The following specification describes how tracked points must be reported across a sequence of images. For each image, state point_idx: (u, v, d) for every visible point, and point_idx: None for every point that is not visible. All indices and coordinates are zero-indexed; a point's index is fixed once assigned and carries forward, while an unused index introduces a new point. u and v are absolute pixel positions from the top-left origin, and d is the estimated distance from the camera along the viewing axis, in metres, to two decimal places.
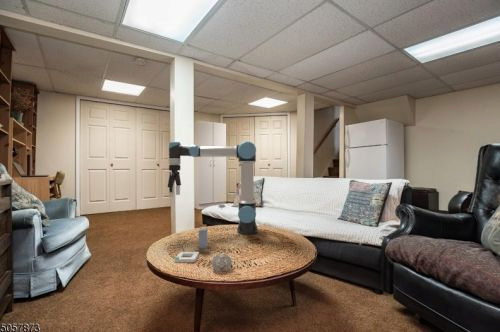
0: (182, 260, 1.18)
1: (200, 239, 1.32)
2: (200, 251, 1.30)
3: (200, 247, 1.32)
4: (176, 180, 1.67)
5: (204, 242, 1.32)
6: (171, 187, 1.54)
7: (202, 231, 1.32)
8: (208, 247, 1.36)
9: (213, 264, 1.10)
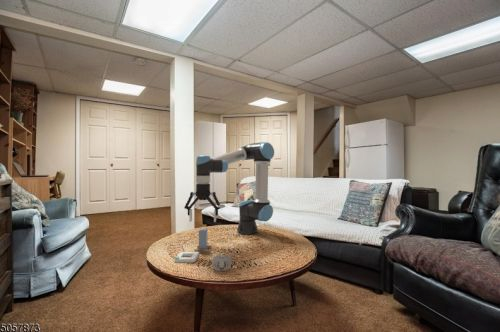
0: (182, 260, 1.18)
1: (200, 239, 1.32)
2: (200, 251, 1.30)
3: (200, 247, 1.32)
4: None
5: (204, 242, 1.32)
6: (187, 209, 1.33)
7: (202, 231, 1.32)
8: (208, 247, 1.36)
9: (213, 264, 1.10)
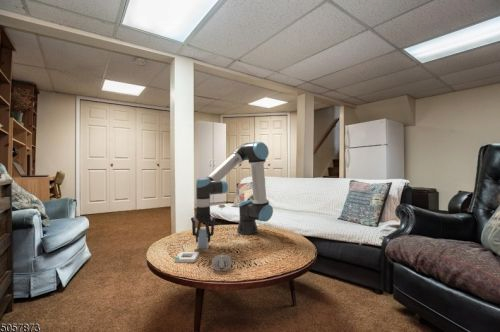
0: (182, 260, 1.18)
1: (200, 239, 1.32)
2: (200, 251, 1.30)
3: (200, 247, 1.32)
4: None
5: (204, 242, 1.32)
6: None
7: (202, 231, 1.32)
8: (208, 247, 1.36)
9: (213, 264, 1.10)
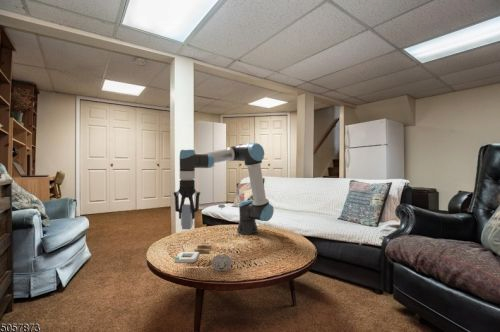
0: (182, 260, 1.18)
1: (184, 215, 1.21)
2: (200, 251, 1.30)
3: (183, 224, 1.21)
4: None
5: (188, 218, 1.21)
6: (179, 212, 1.22)
7: (186, 206, 1.21)
8: (208, 247, 1.36)
9: (213, 264, 1.10)
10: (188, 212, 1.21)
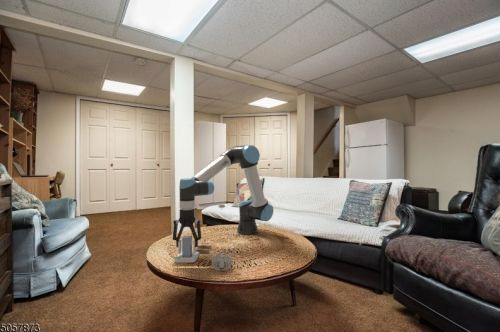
0: (182, 260, 1.18)
1: (184, 248, 1.21)
2: (200, 251, 1.30)
3: (184, 256, 1.21)
4: None
5: (188, 251, 1.21)
6: (176, 241, 1.22)
7: (186, 239, 1.21)
8: (208, 247, 1.36)
9: (213, 264, 1.10)
10: (188, 245, 1.21)
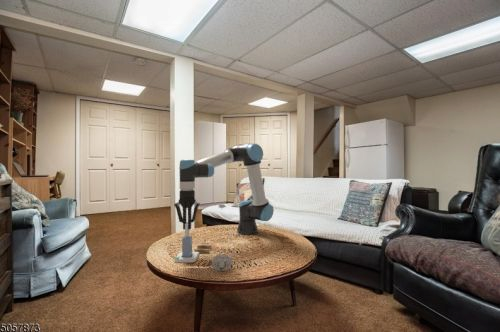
0: (182, 260, 1.18)
1: (184, 248, 1.21)
2: (200, 251, 1.30)
3: (184, 256, 1.21)
4: None
5: (188, 251, 1.21)
6: (183, 223, 1.22)
7: (186, 239, 1.21)
8: (208, 247, 1.36)
9: (213, 264, 1.10)
10: (188, 245, 1.21)
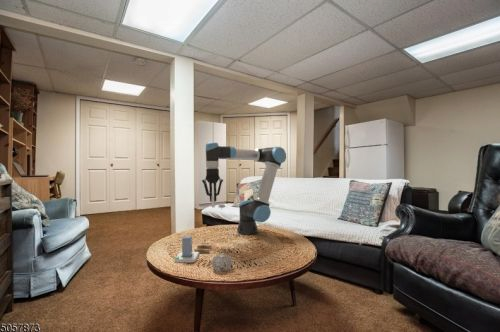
0: (182, 260, 1.18)
1: (184, 248, 1.21)
2: (200, 251, 1.30)
3: (184, 256, 1.21)
4: (214, 187, 1.46)
5: (188, 251, 1.21)
6: None
7: (186, 239, 1.21)
8: (208, 247, 1.36)
9: (213, 264, 1.10)
10: (188, 245, 1.21)
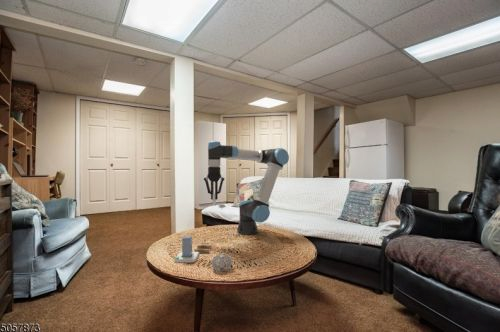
0: (182, 260, 1.18)
1: (184, 248, 1.21)
2: (200, 251, 1.30)
3: (184, 256, 1.21)
4: (215, 186, 1.48)
5: (188, 251, 1.21)
6: None
7: (186, 239, 1.21)
8: (208, 247, 1.36)
9: (213, 264, 1.10)
10: (188, 245, 1.21)
